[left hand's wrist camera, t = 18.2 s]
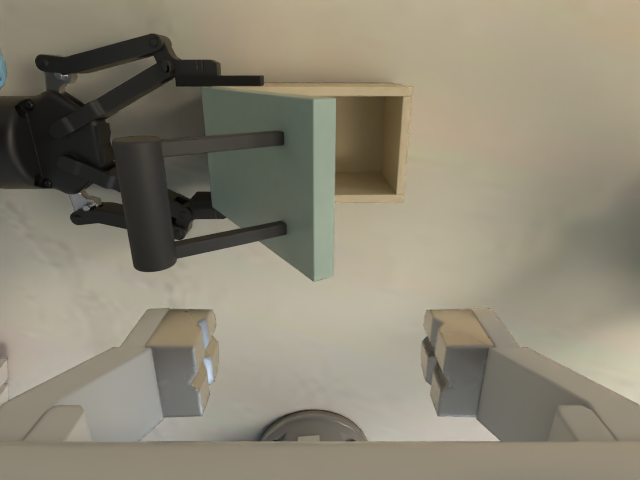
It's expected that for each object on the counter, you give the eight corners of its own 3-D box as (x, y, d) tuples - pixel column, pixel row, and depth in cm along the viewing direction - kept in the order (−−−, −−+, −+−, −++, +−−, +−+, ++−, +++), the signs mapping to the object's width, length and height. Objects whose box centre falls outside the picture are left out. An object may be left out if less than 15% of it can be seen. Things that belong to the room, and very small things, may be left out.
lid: (336, 97, 20) (118, 106, 15) (334, 276, 23) (154, 328, 18) (217, 86, 32) (76, 89, 27) (227, 204, 35) (103, 224, 31)
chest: (391, 83, 41) (412, 86, 33) (386, 177, 45) (403, 202, 36) (231, 82, 41) (211, 86, 32) (238, 177, 44) (221, 203, 36)
